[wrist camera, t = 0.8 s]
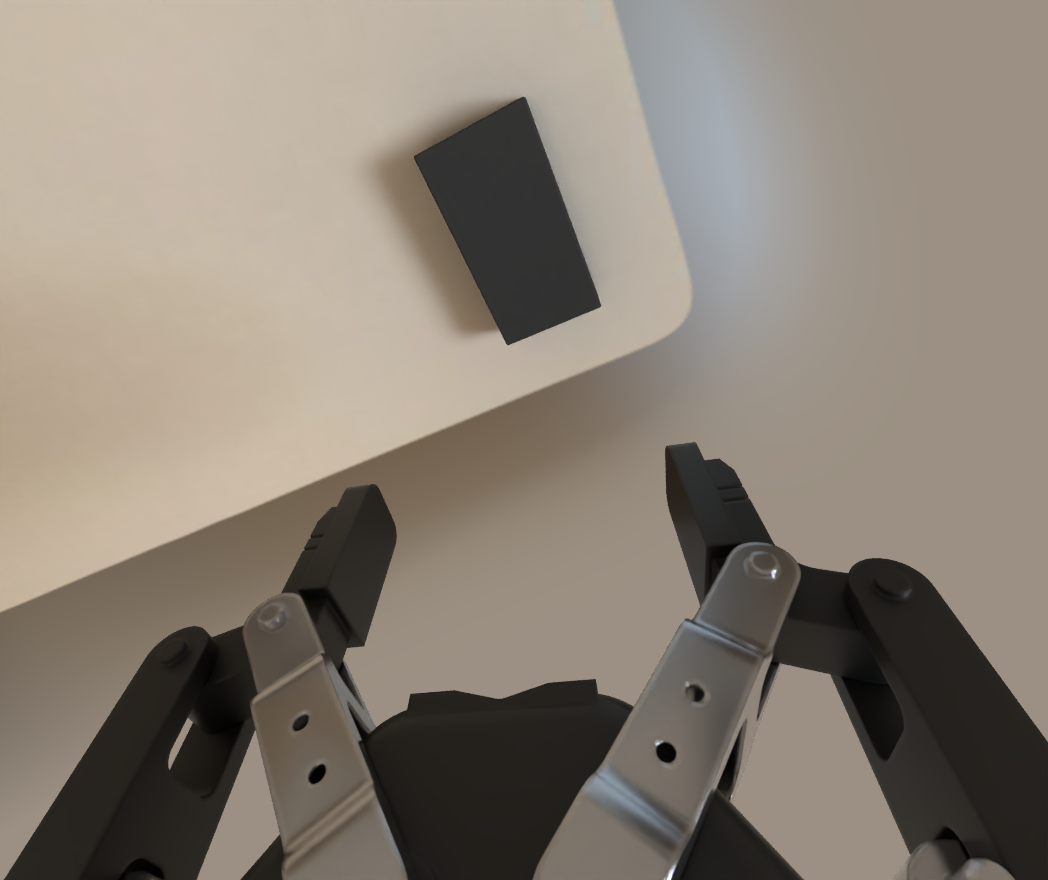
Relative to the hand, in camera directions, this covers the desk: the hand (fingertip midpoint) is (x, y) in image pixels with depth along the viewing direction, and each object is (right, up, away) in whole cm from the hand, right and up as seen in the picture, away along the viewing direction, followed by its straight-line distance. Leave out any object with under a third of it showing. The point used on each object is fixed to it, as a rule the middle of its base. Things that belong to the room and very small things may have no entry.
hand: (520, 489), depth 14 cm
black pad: (0, +13, +13) cm, 18 cm away
